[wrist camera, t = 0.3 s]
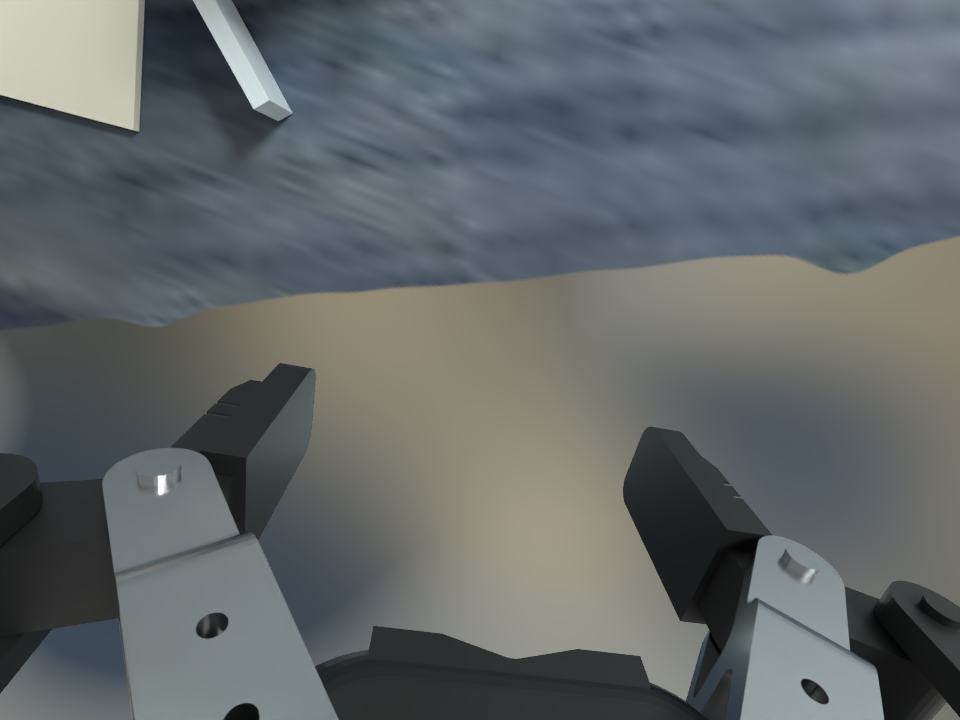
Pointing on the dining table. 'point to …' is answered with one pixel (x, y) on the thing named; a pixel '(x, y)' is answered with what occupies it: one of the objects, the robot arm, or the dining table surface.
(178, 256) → the dining table surface
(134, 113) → the resting pad
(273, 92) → the low wall
